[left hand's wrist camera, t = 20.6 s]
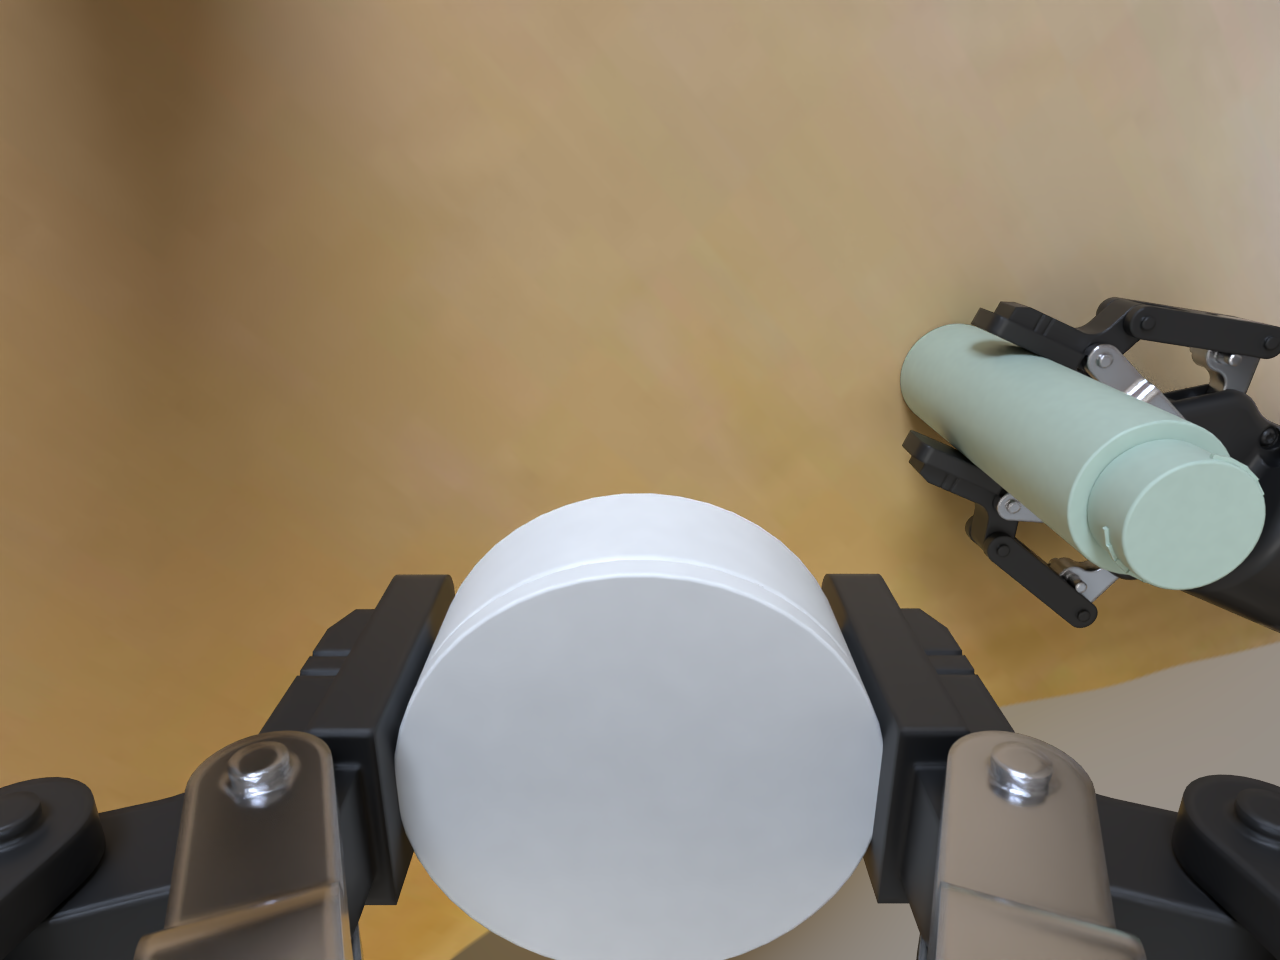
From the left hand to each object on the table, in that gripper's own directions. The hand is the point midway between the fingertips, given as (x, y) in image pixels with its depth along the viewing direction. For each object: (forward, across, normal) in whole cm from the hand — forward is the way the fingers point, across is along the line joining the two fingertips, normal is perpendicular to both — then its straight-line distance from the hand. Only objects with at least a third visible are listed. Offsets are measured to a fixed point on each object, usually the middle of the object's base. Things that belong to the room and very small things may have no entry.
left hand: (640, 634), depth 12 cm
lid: (-3, 0, 0) cm, 3 cm away
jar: (+28, +14, -3) cm, 31 cm away
